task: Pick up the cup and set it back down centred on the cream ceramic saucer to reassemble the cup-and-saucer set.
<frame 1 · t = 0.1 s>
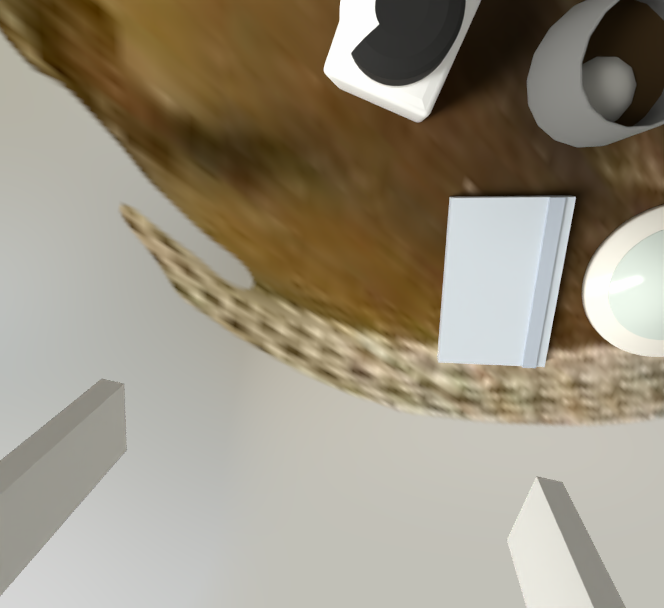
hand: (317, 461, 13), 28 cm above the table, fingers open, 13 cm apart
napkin: (498, 284, 38), on the table
container: (398, 56, 33), on the table
cup: (575, 82, 32), on the table
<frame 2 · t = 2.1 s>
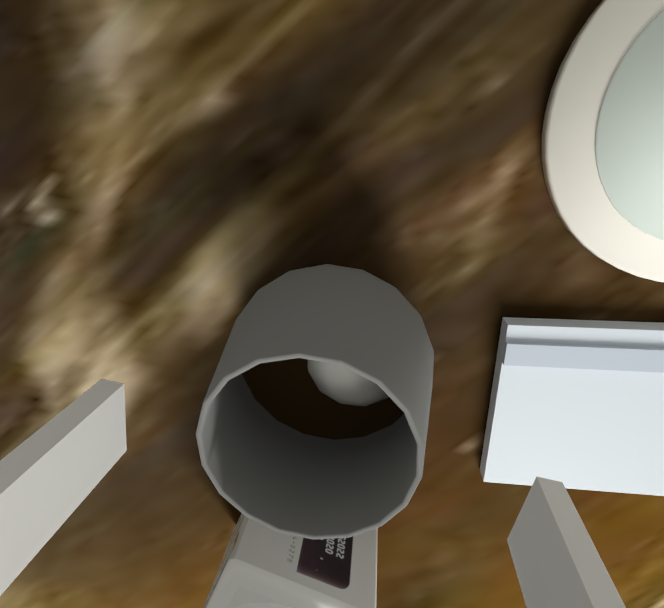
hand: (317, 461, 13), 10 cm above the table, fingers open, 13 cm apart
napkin: (643, 407, 22), on the table
container: (304, 509, 28), on the table
cup: (338, 327, 23), on the table
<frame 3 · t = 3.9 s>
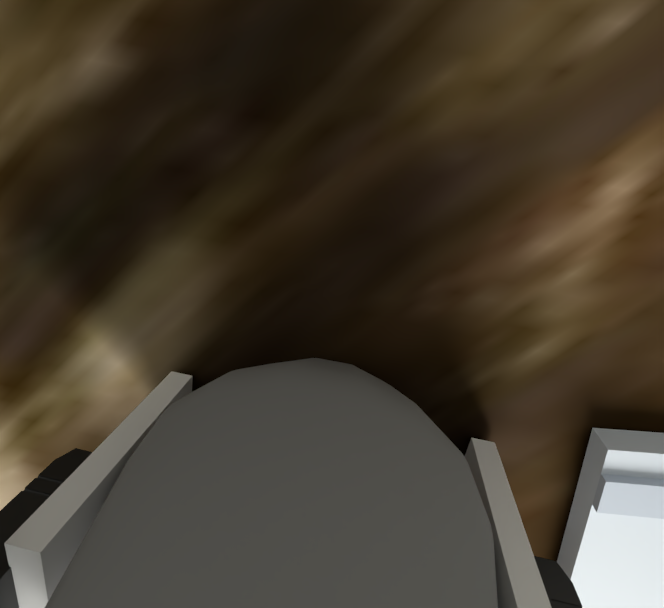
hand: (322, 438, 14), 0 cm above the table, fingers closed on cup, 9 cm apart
cup: (324, 430, 14), on the table, touching gripper
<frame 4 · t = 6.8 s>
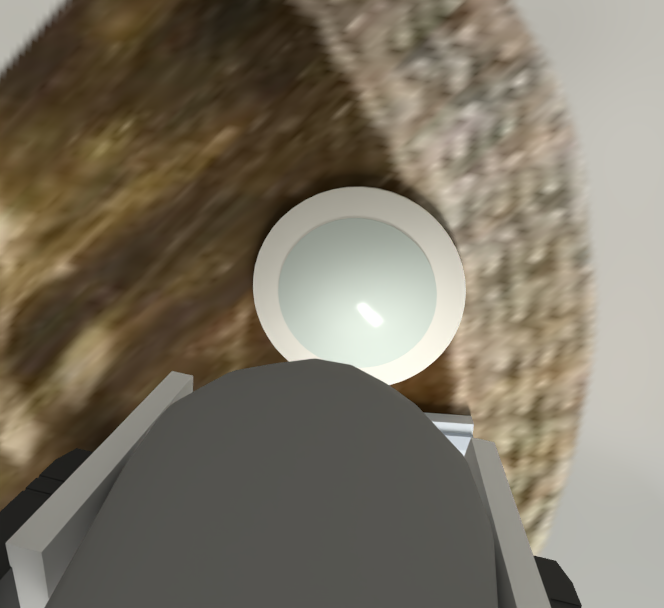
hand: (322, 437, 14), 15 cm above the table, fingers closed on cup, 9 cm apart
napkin: (361, 460, 33), on the table
cup: (324, 430, 14), point 15 cm above the table, touching gripper
saucer: (356, 292, 28), on the table
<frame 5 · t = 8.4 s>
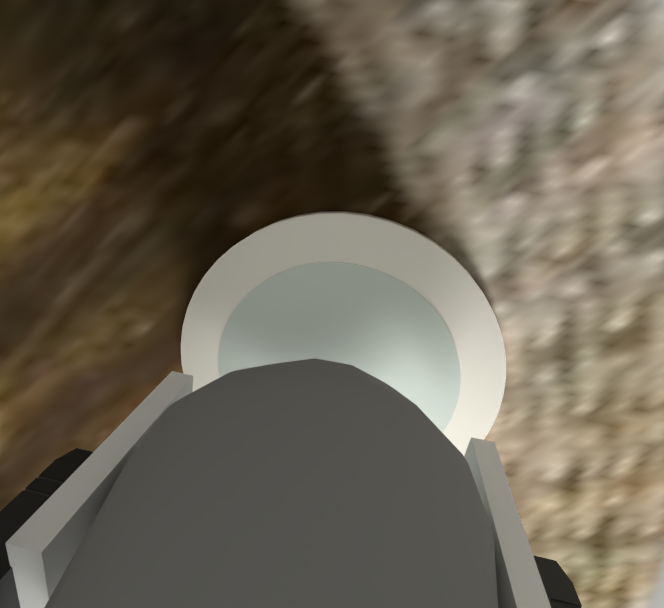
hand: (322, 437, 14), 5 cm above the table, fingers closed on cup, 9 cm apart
cup: (324, 430, 14), point 4 cm above the table, touching gripper
saucer: (337, 367, 19), on the table
when the fingers open (3 cm above the table, at t = 9.8 s): cup drops 2 cm, resting on saucer.
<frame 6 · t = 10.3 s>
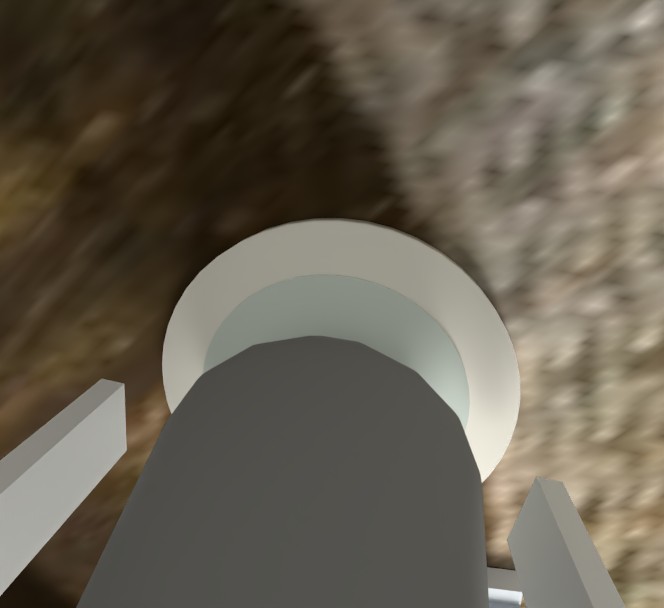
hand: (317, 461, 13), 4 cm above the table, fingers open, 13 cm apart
cup: (331, 403, 16), point 1 cm above the table, touching saucer
saucer: (334, 388, 17), on the table
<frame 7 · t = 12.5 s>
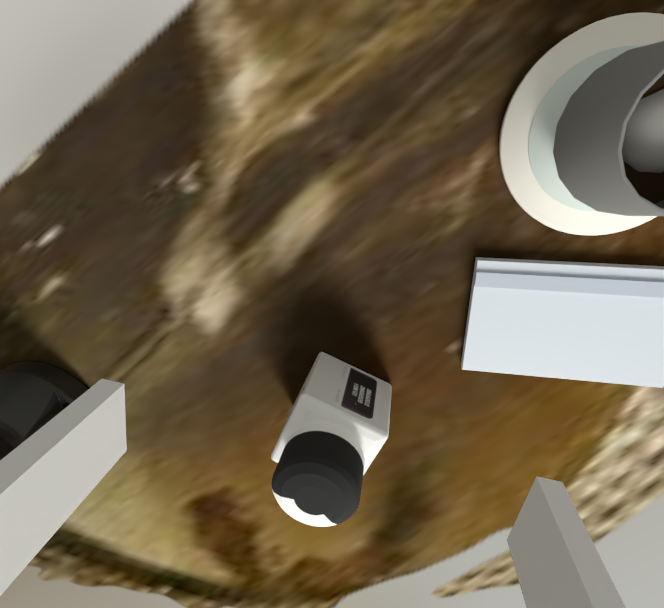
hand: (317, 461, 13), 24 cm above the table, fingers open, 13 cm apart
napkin: (567, 320, 34), on the table
container: (341, 394, 41), on the table
cup: (609, 135, 28), point 1 cm above the table, touching saucer
saucer: (603, 134, 29), on the table
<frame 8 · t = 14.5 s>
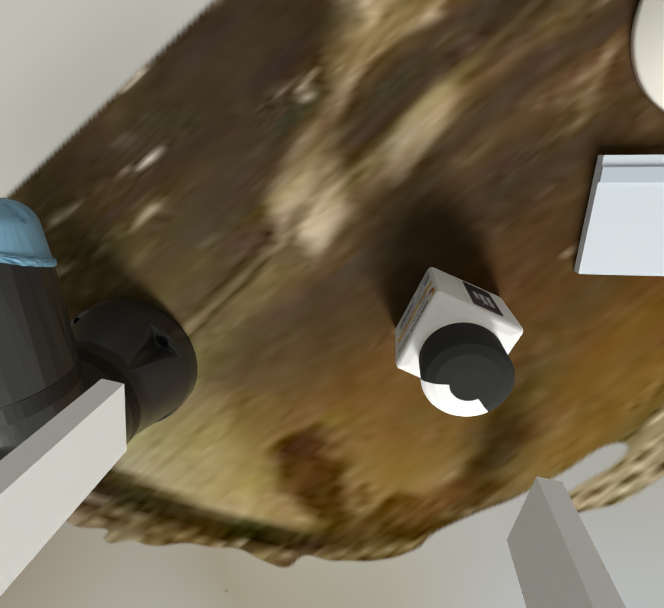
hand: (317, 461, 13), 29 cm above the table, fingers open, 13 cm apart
container: (446, 313, 41), on the table
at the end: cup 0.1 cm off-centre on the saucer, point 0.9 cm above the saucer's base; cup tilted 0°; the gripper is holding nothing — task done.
